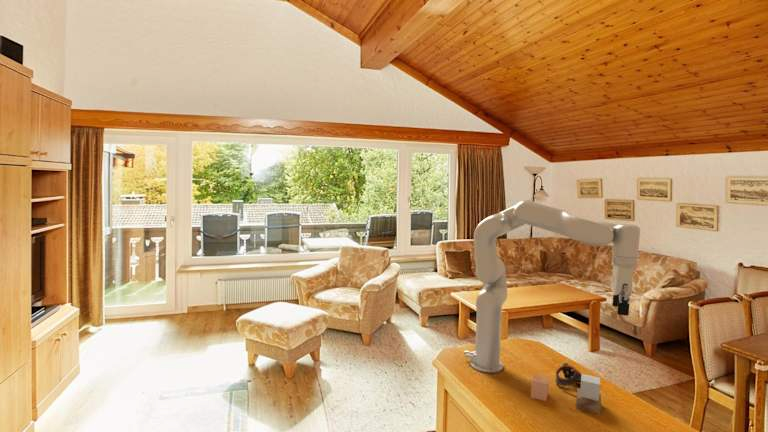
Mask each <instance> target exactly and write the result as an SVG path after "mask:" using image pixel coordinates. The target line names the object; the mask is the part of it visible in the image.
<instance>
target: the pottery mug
mask: <svg viewBox="0 0 768 432" xmlns="http://www.w3.org/2000/svg"><path fill="white" fill-rule="evenodd" d="M560 372H562V374H563V375H564V378H563V377H561V376H560V375H559V373H560ZM555 374H556V375H555V383H556V384H555V385H557V386H558V385H559V386H563V387H570V386H575V387H577V383H579V384H581V374H582V373H581V372H580V371H579V370H578V369H577V368H575V366H573V365H570V364H568V362H566V363H563V364H562V366H561V365H560V366H559V367H558V368H557V369H556V371H555Z"/></svg>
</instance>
